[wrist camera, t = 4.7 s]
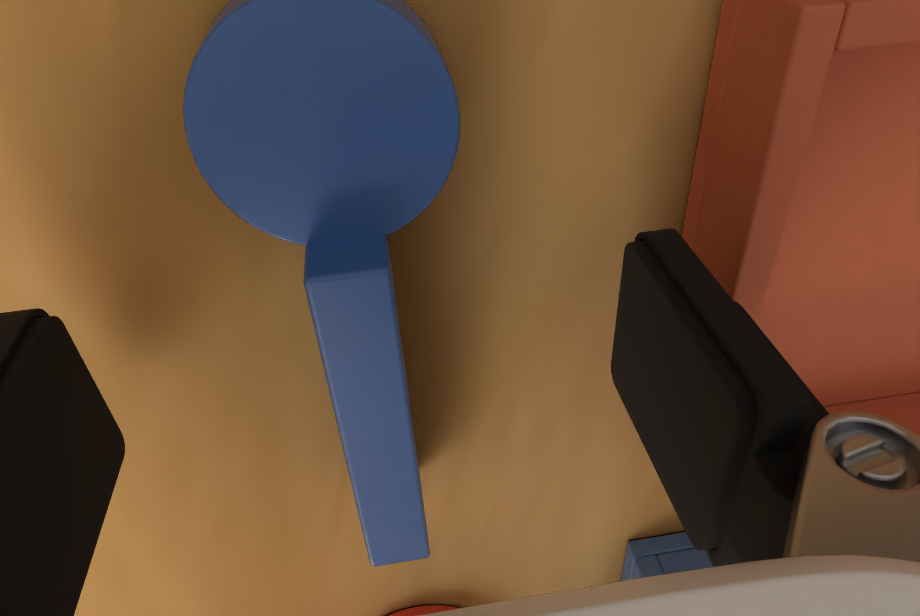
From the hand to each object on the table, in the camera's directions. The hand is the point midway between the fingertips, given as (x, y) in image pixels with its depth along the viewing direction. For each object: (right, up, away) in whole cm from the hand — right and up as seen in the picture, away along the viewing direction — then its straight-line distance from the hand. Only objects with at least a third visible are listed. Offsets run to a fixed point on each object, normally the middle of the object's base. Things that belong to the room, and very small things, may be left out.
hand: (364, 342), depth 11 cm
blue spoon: (0, +1, +1) cm, 1 cm away
